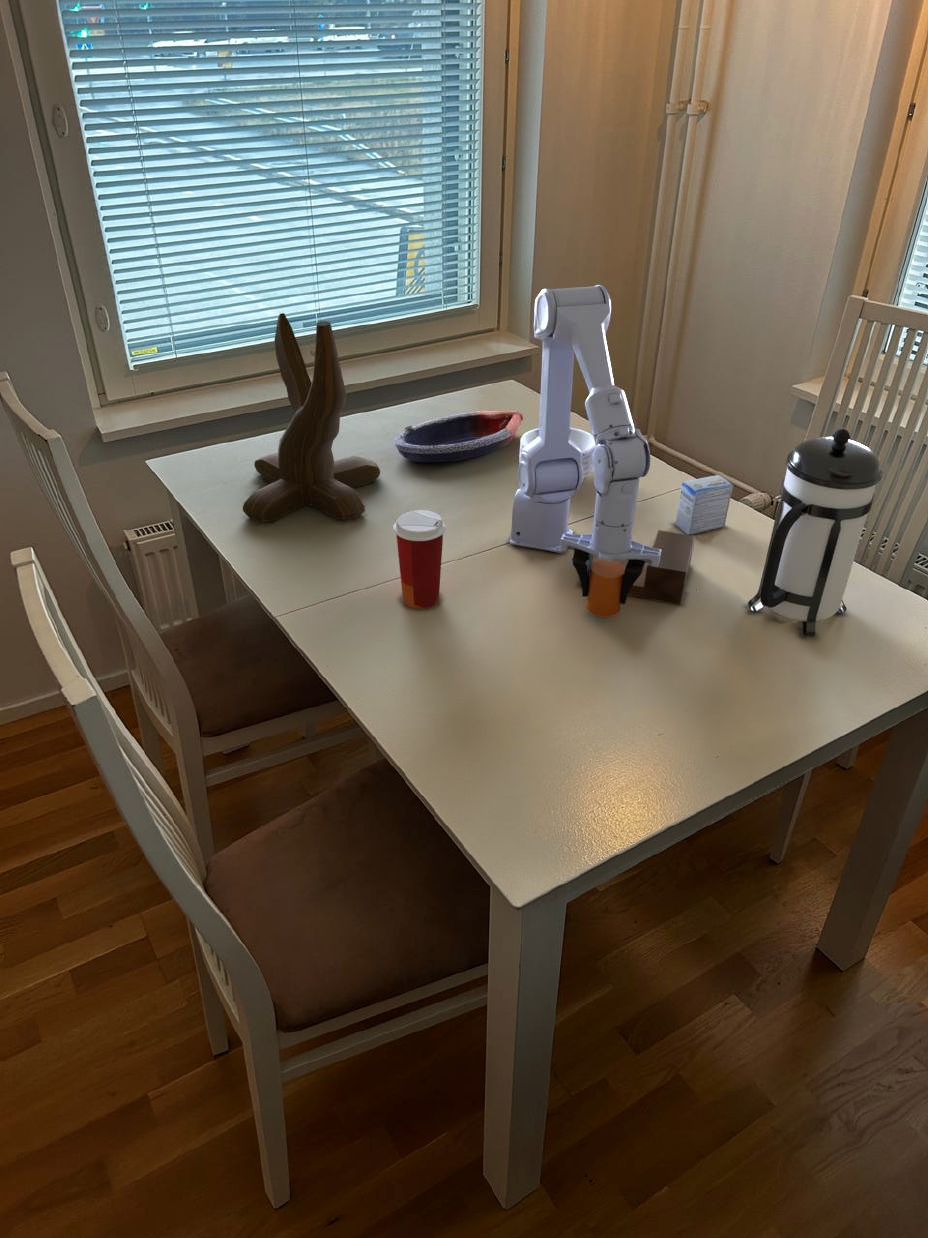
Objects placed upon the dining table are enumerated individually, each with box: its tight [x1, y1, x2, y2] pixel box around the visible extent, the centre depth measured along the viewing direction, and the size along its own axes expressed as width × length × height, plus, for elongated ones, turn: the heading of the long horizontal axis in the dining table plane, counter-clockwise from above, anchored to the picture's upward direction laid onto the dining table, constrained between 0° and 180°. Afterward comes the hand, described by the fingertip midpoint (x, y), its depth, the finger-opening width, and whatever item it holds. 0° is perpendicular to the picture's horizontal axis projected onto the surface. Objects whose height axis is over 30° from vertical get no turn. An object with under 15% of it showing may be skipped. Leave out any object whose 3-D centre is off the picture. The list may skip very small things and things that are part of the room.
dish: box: [394, 410, 524, 463], centre depth 190 cm, size 16×31×5 cm, turn 121°
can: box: [586, 560, 625, 618], centre depth 138 cm, size 5×5×7 cm
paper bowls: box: [518, 427, 596, 479], centre depth 178 cm, size 15×15×8 cm
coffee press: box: [747, 428, 884, 638], centre depth 133 cm, size 17×16×30 cm
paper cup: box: [392, 509, 446, 610], centre depth 140 cm, size 8×8×14 cm
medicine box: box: [674, 474, 734, 535], centre depth 162 cm, size 8×4×9 cm, turn 113°
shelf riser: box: [579, 529, 696, 605], centre depth 149 cm, size 16×12×6 cm
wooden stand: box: [242, 312, 381, 523], centre depth 164 cm, size 29×29×35 cm
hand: (604, 596), depth 139 cm, fingers closed on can, 5 cm apart
